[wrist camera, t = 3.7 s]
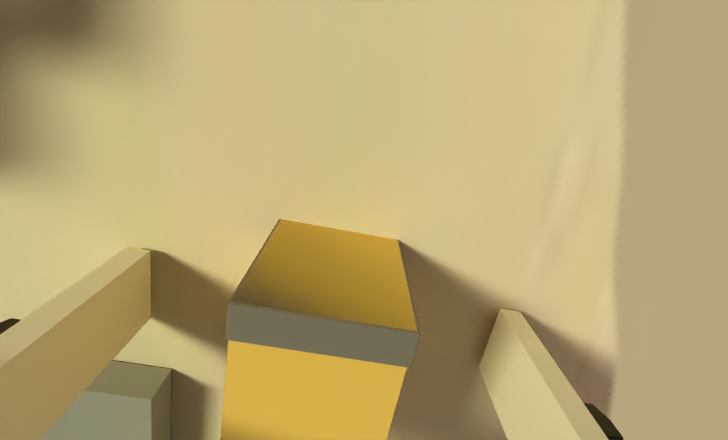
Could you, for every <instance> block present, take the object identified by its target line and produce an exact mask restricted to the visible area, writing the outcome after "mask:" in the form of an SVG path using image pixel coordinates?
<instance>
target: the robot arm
mask: <svg viewBox="0 0 728 440" xmlns="http://www.w3.org/2000/svg"><path fill="white" fill-rule="evenodd" d="M150 318H151V266H150V250H144V249H138V248H132V247H127V248H125V249H124V250H122V251H121V252H119V253H118V254H116V255H115V256H113V257H112V258H111V259H109V260H108V261H106V262H105V263H103V264H102V265H100V266H99V267H97V268H96V269H95V270H93V271H92V272H90V273H89V274H87V275H86V276H84V277H83V278H82V279H80V280H79V281H77V282H76V283H74V284H73V285H71V286H70V287H68V288H67V289H66V290H64V291H63V292H61V293H60V294H58V295H57V296H55V297H54V298H53V299H51V300H50V301H48V302H47V303H45V304H44V305H42V306H41V307H39V308H38V309H37V310H35V311H34V312H32V313H31V314H29V315H28V316H26V317H25V318H23V319H22V320H19V319H12V318H11V319H8V320H6V321H3V322H1V323H0V440H40V439H41V438H42V437H43V435H44V434H45V433H46V432H47V431H48V430H49V429H50V428H51V427H52V426H53V424H54V423H55V422H56V421H57V420H58V419H59V418H60V417H61V416H62V415H63V413H64V412H65V411H66V410H67V409H68V408H69V407H70V406H71V405H72V404H73V403H74V401H75V400H76V399H77V398H78V397H79V396H80V395H81V394H82V393H83V392H84V390H85V389H86V388H87V387H88V386H89V385H90V384H91V383H92V382H93V381H94V379H95V378H96V377H97V376H98V375H99V374H100V373H101V372H102V371H103V370H104V368H105V367H106V366H107V365H108V364H109V363H110V362H111V361H112V360H113V359H114V357H115V356H116V355H117V354H118V353H119V352H120V351H121V350H122V349H123V348H124V346H125V345H126V344H127V343H128V342H129V341H130V340H131V339H132V338H133V337H134V335H135V334H136V333H137V332H138V331H139V330H140V329H141V328H142V327H143V326H144V324H145V323H146V322H147V321H148V320H149V319H150ZM479 371H480V373H481V375H482V378H483V380H484V383H485V385H486V388H487V390H488V393H489V395H490V398H491V400H492V402H493V405H494V407H495V410H496V412H497V415H498V417H499V420H500V422H501V425H502V427H503V429H504V432H505V434H506V437H507V439H508V440H623V437H622V436H621V434H620V433H619V431H618V430H617V429H616V428H615V426H614V425H613V423H612V422H611V421H610V420H609V419H608V418H607V417H606V416H605V415H604V414H603V413H602V412H600V411H599V410H598V409H597V408H596V407H595V406H594V405H593V404H586V403H583V402H582V400H581V399H580V397H579V396H578V395H577V393H576V392H575V390H574V389H573V387H572V386H571V384H570V383H569V382H568V380H567V379H566V377H565V376H564V374H563V373H562V371H561V370H560V369H559V367H558V366H557V364H556V363H555V361H554V360H553V358H552V357H551V356H550V354H549V353H548V351H547V350H546V348H545V347H544V345H543V344H542V343H541V341H540V340H539V338H538V337H537V335H536V334H535V332H534V331H533V330H532V328H531V327H530V325H529V324H528V322H527V321H526V319H525V318H524V317H523V315H522V314H521V312H518V311H512V310H506V309H500V311H499V313H498V316H497V319H496V321H495V324H494V327H493V330H492V332H491V335H490V338H489V341H488V343H487V346H486V349H485V351H484V354H483V357H482V360H481V362H480V365H479Z"/></svg>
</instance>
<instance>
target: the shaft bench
mask: <svg viewBox="0 0 728 440" xmlns="http://www.w3.org/2000/svg"><path fill="white" fill-rule="evenodd" d="M171 376H172V369H167V368H161V367H154V366H147V365H140V364H133V363H126V362H119V361H113V360H112V361H111V362H110V363H109V364H108V365H107V366H106V367H105V368H104V370H103V371H102V372H101V373H100V374H99V375H98V376H97V377H96V378H95V379H94V381H93V382H92V383H91V384H90V385H89V386H88V387H87V388H86V389H85V390H84V392H83V393H82V394H81V395H80V396H79V397H78V398H77V399H76V400H75V401H74V403H73V404H72V405H71V406H70V407H69V408H68V409H67V410H66V411H65V412H64V413H63V415H62V416H61V417H60V418H59V419H58V420H57V421H56V422H55V423H54V424H53V426H52V427H51V428H50V429H49V430H48V431H47V432H46V433H45V434H44V435H43V437H42V438H41V439H40V440H171Z"/></svg>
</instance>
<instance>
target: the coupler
mask: <svg viewBox="0 0 728 440" xmlns="http://www.w3.org/2000/svg"><path fill="white" fill-rule="evenodd" d="M419 338H420V331H419V327H418V322H417V318H416V313H415V309H414V305H413V300H412V296H411V291H410V287H409V283H408V278H407V274H406V269H405V265H404V261H403V256H402V252H401V247H400V243H399V240H396V239H390V238H384V237H379V236H373V235H367V234H361V233H356V232H350V231H344V230H339V229H333V228H327V227H321V226H316V225H310V224H304V223H299V222H293V221H287V220H281V219H279V220H278V222H277V224H276V225H275V227H274V229H273V230H272V232H271V234H270V235H269V237H268V238H267V240H266V242H265V243H264V245H263V247H262V248H261V250H260V251H259V253H258V255H257V256H256V258H255V260H254V261H253V263H252V264H251V266H250V268H249V269H248V271H247V273H246V274H245V276H244V277H243V279H242V281H241V282H240V284H239V286H238V287H237V289H236V290H235V292H234V294H233V295H232V297H231V299H230V300H229V302H228V303H227V312H226V325H225V339H224V340H228V348H227V361H226V374H225V387H224V400H223V413H222V426H221V439H220V440H386V439H387V436H388V432H389V429H390V425H391V422H392V418H393V415H394V411H395V408H396V404H397V401H398V397H399V394H400V390H401V387H402V384H403V380H404V377H405V373H406V370H407V367H408V368H411V365H412V362H413V358H414V355H415V351H416V348H417V345H418V341H419Z"/></svg>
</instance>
